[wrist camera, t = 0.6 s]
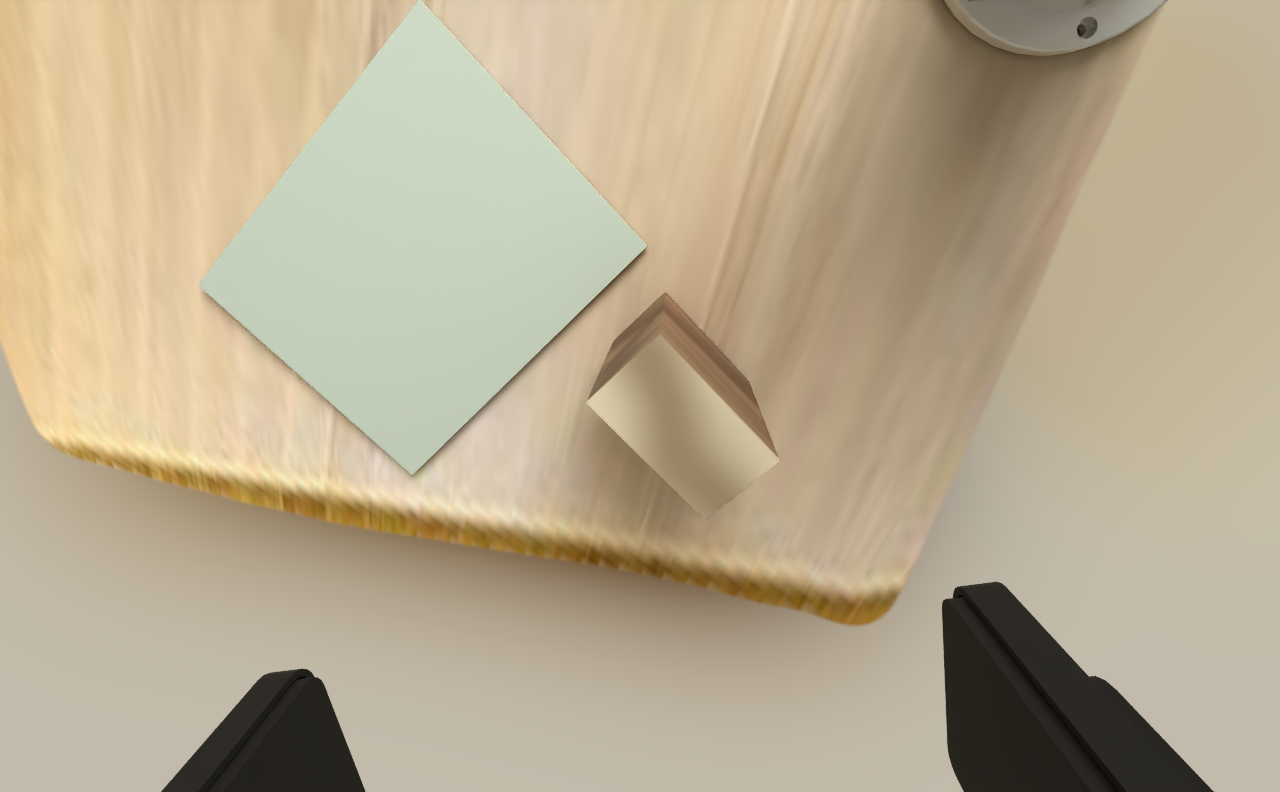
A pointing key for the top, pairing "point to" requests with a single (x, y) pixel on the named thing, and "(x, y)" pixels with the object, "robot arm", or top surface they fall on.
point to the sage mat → (420, 246)
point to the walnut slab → (683, 408)
